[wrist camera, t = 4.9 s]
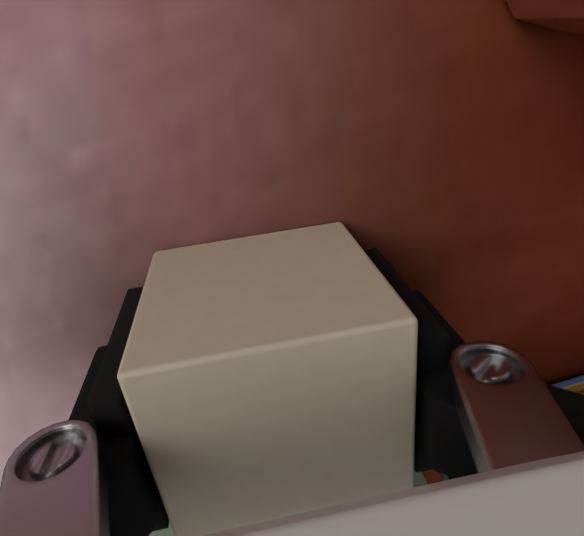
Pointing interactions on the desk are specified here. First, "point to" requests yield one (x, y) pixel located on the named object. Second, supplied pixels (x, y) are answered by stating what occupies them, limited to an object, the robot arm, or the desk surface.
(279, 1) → the desk surface
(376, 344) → the plain beige block
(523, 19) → the milkshake
